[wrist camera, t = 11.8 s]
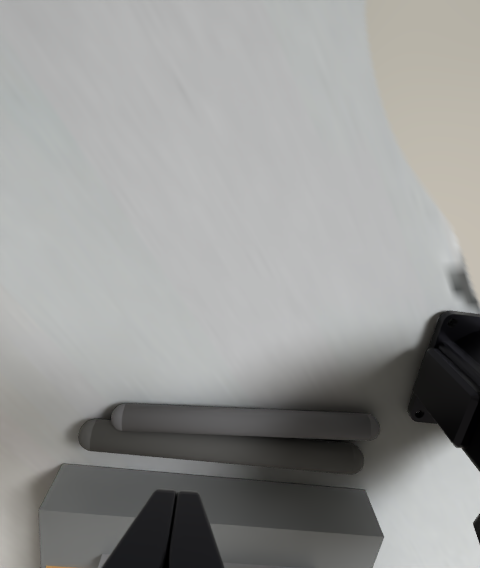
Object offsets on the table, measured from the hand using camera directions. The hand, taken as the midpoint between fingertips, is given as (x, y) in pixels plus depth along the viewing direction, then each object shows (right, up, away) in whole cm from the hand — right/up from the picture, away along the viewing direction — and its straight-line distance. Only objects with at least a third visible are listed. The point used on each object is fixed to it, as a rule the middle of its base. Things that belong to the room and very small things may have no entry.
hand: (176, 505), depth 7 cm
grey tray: (-1, -13, +17) cm, 22 cm away
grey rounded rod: (0, -4, +14) cm, 15 cm away
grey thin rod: (+2, -3, +14) cm, 14 cm away
